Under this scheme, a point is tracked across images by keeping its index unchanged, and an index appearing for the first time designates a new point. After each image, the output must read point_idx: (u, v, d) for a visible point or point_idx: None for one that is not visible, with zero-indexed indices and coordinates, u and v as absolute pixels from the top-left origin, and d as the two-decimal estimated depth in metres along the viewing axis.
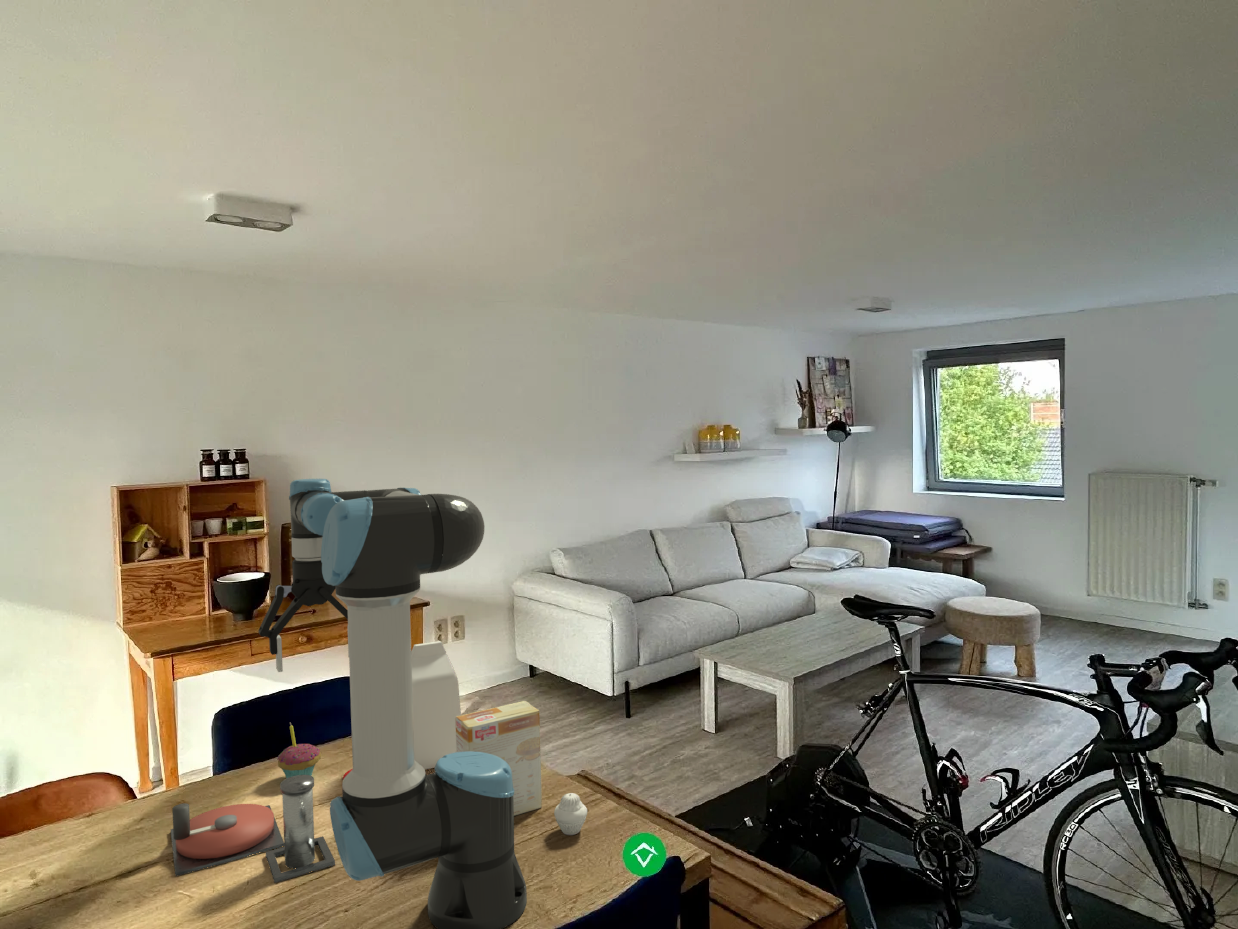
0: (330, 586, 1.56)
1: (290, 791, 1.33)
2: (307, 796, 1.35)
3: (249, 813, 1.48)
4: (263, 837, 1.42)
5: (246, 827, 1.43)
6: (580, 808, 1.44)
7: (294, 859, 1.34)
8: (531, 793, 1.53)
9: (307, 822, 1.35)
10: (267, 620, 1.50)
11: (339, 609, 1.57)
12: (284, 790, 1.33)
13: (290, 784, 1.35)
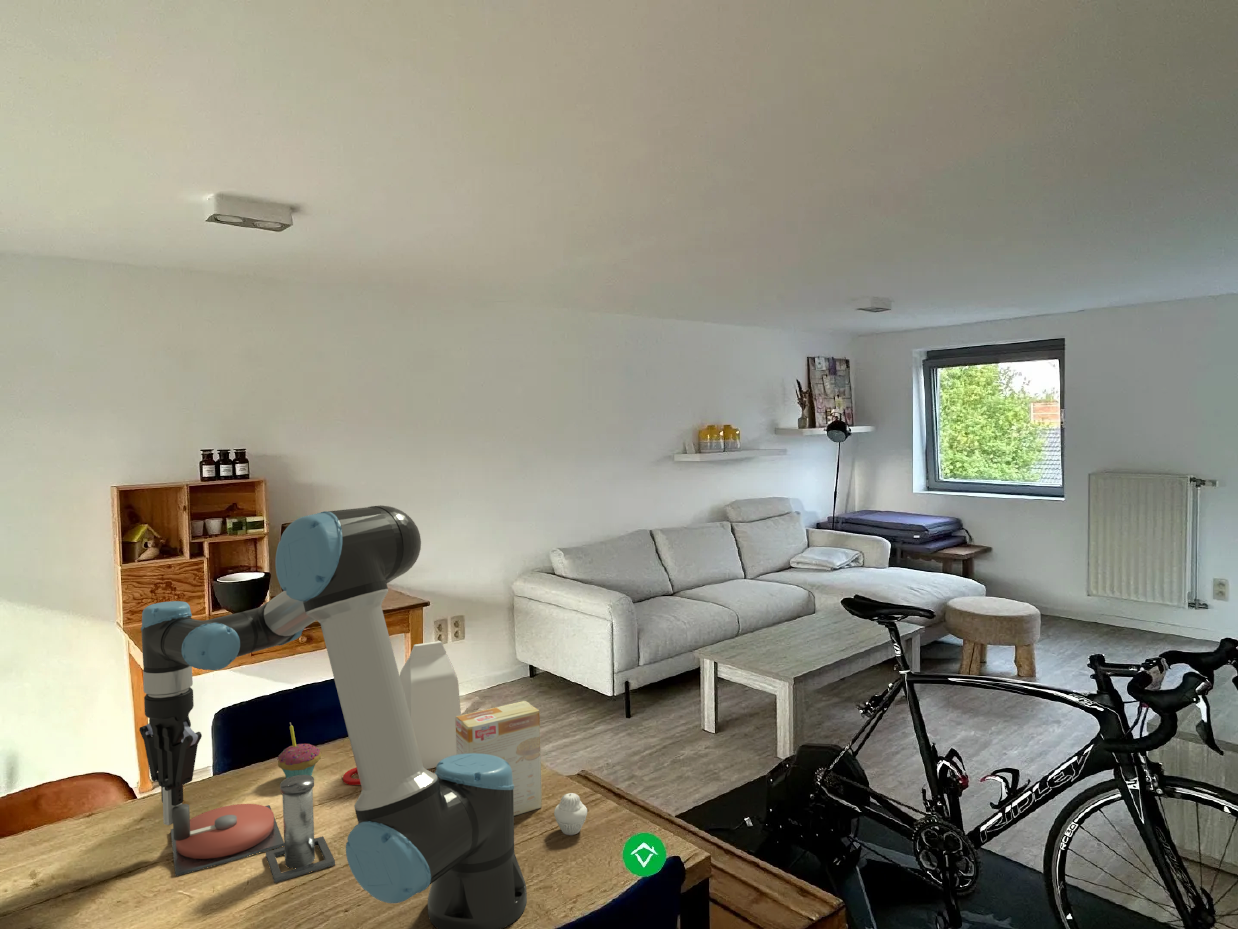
0: (175, 727, 1.37)
1: (290, 791, 1.33)
2: (307, 796, 1.35)
3: (249, 813, 1.48)
4: (264, 836, 1.42)
5: (247, 827, 1.43)
6: (580, 808, 1.44)
7: (294, 859, 1.34)
8: (531, 793, 1.53)
9: (307, 822, 1.35)
10: (149, 764, 1.40)
11: (168, 759, 1.38)
12: (284, 790, 1.33)
13: (290, 784, 1.35)
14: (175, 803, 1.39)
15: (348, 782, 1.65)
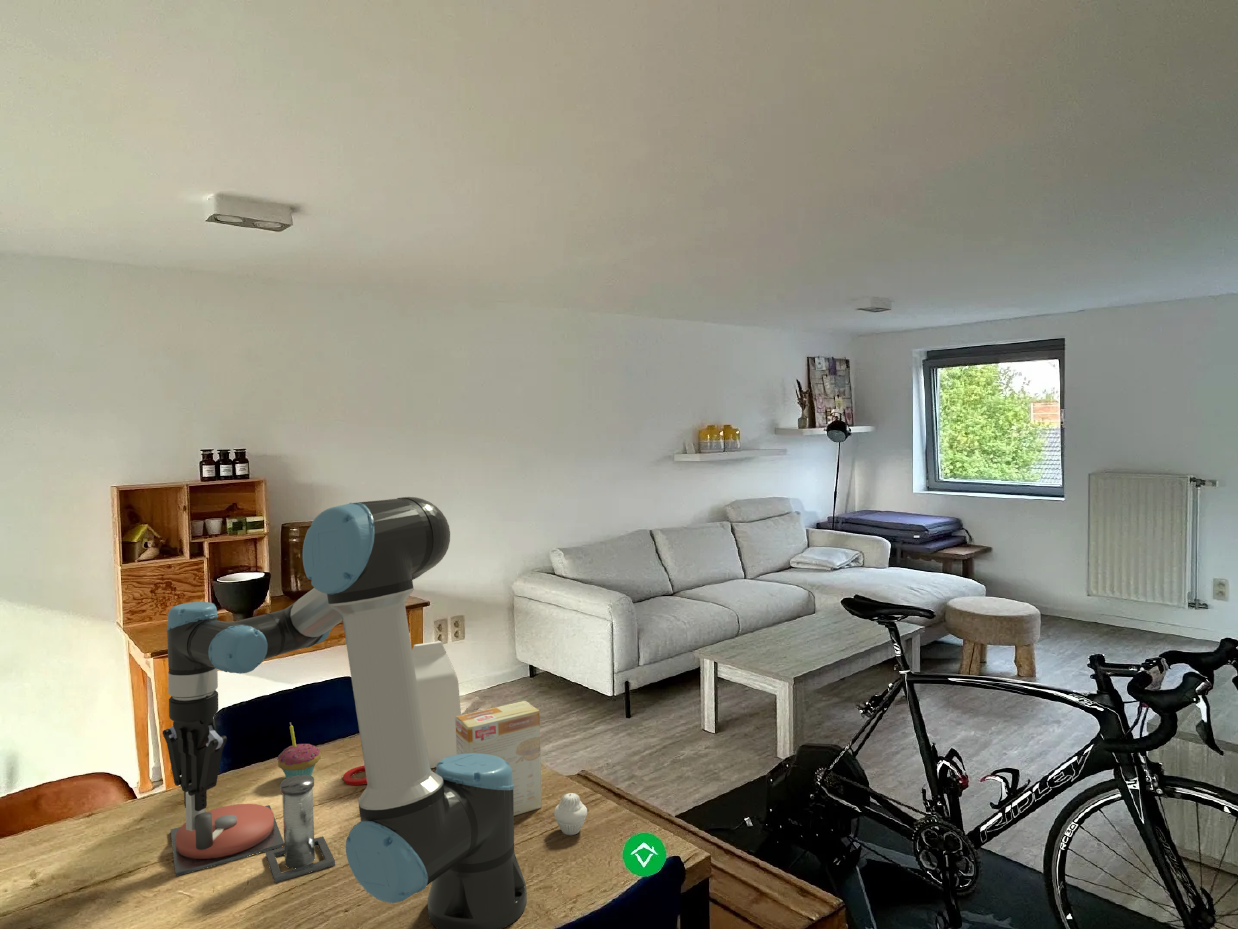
0: (200, 731, 1.35)
1: (290, 791, 1.33)
2: (307, 796, 1.35)
3: (226, 813, 1.48)
4: None
5: (250, 816, 1.47)
6: (580, 808, 1.44)
7: (294, 859, 1.34)
8: (531, 793, 1.53)
9: (307, 822, 1.35)
10: (172, 768, 1.37)
11: (192, 763, 1.35)
12: (284, 790, 1.33)
13: (290, 784, 1.35)
14: (198, 808, 1.36)
15: (348, 782, 1.65)
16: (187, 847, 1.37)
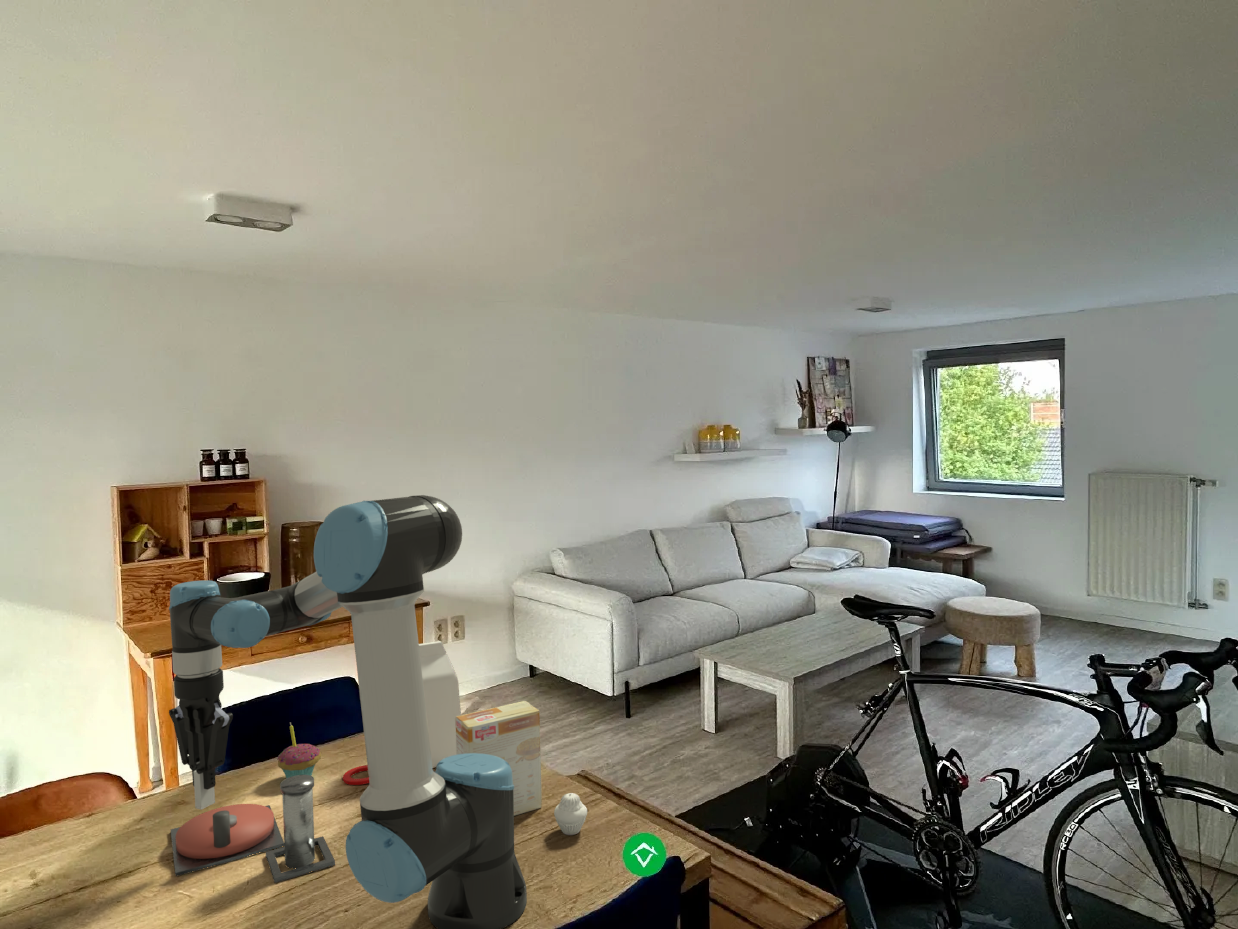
0: (206, 708, 1.34)
1: (290, 791, 1.33)
2: (307, 796, 1.35)
3: None
4: None
5: (245, 814, 1.48)
6: (580, 808, 1.44)
7: (294, 859, 1.34)
8: (531, 793, 1.53)
9: (307, 822, 1.35)
10: (179, 747, 1.37)
11: (199, 741, 1.35)
12: (284, 790, 1.33)
13: (290, 784, 1.35)
14: (207, 786, 1.36)
15: (348, 782, 1.65)
16: (204, 849, 1.36)
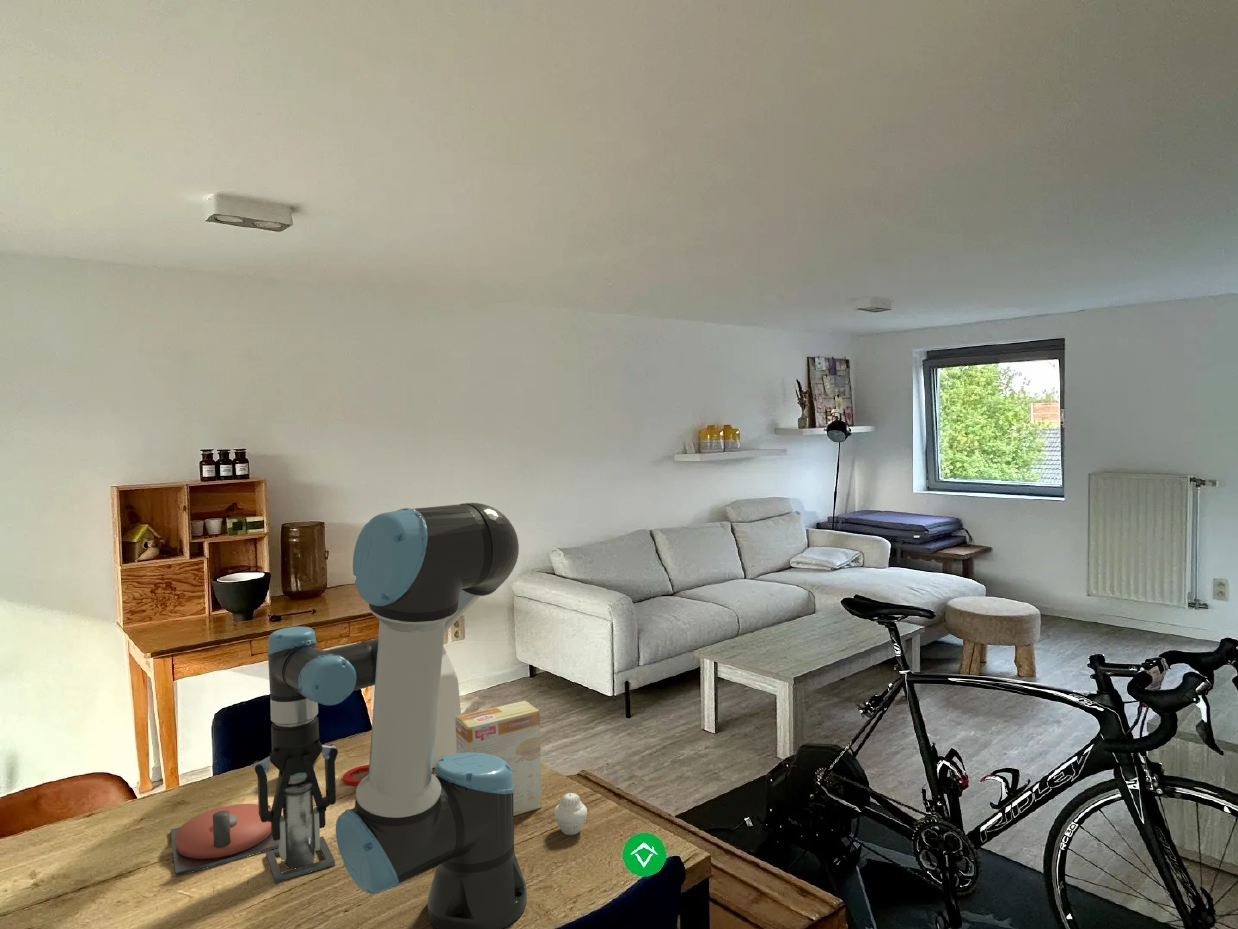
0: (315, 750, 1.36)
1: (290, 791, 1.33)
2: (307, 796, 1.35)
3: None
4: None
5: (245, 814, 1.48)
6: (580, 808, 1.44)
7: (294, 858, 1.34)
8: (531, 793, 1.53)
9: (307, 822, 1.35)
10: (261, 804, 1.32)
11: None
12: (284, 790, 1.33)
13: (290, 784, 1.35)
14: (324, 824, 1.38)
15: (348, 782, 1.65)
16: (204, 849, 1.36)
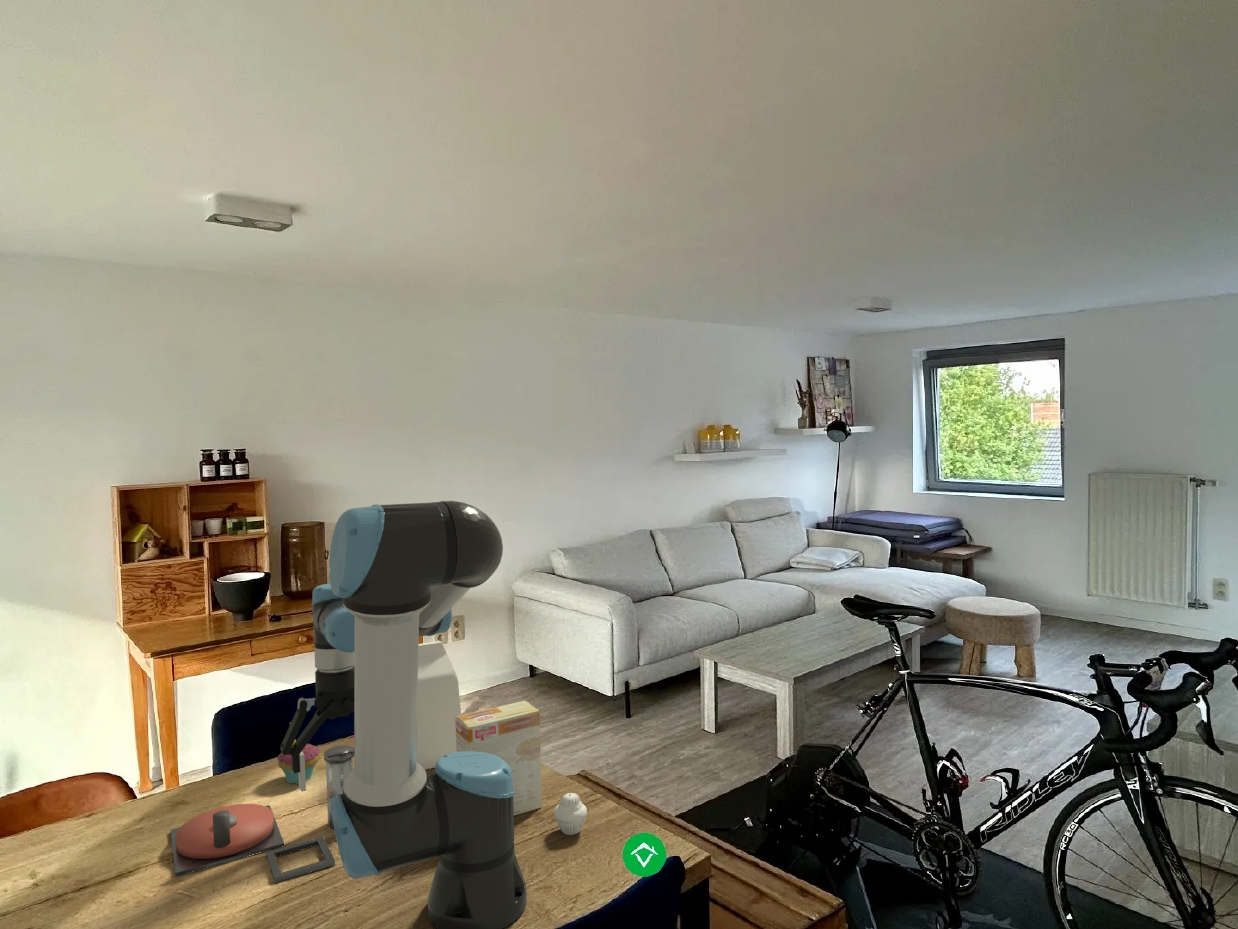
0: None
1: (333, 759, 1.46)
2: (348, 764, 1.47)
3: None
4: None
5: (245, 814, 1.48)
6: (580, 808, 1.44)
7: None
8: (531, 793, 1.53)
9: None
10: (289, 737, 1.42)
11: None
12: (328, 758, 1.46)
13: (333, 753, 1.47)
14: None
15: None
16: (204, 849, 1.36)
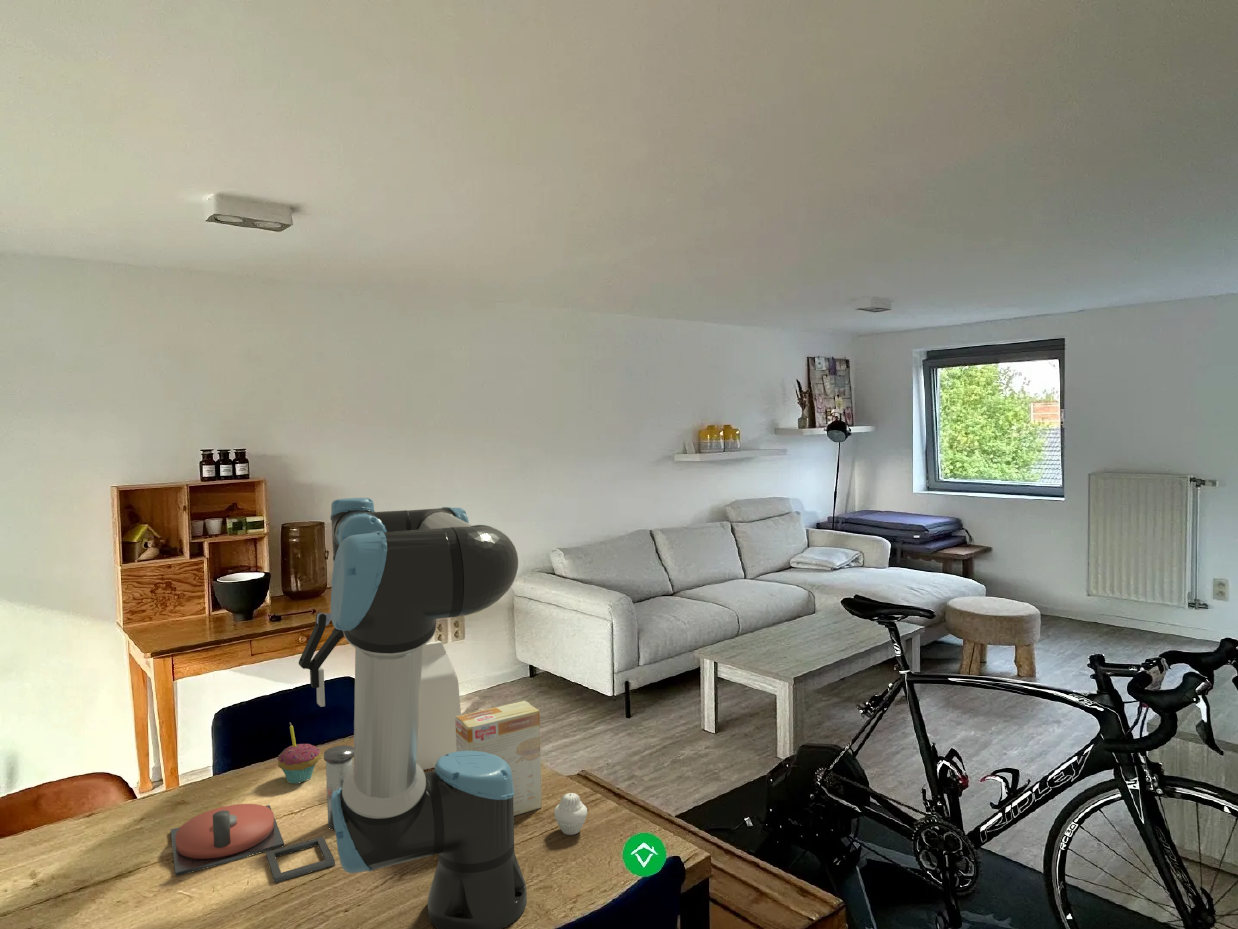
0: None
1: (333, 759, 1.46)
2: (348, 764, 1.47)
3: None
4: None
5: (245, 814, 1.48)
6: (580, 808, 1.44)
7: None
8: (531, 793, 1.53)
9: None
10: (309, 651, 1.39)
11: None
12: (328, 758, 1.46)
13: (333, 753, 1.47)
14: None
15: None
16: (204, 849, 1.36)
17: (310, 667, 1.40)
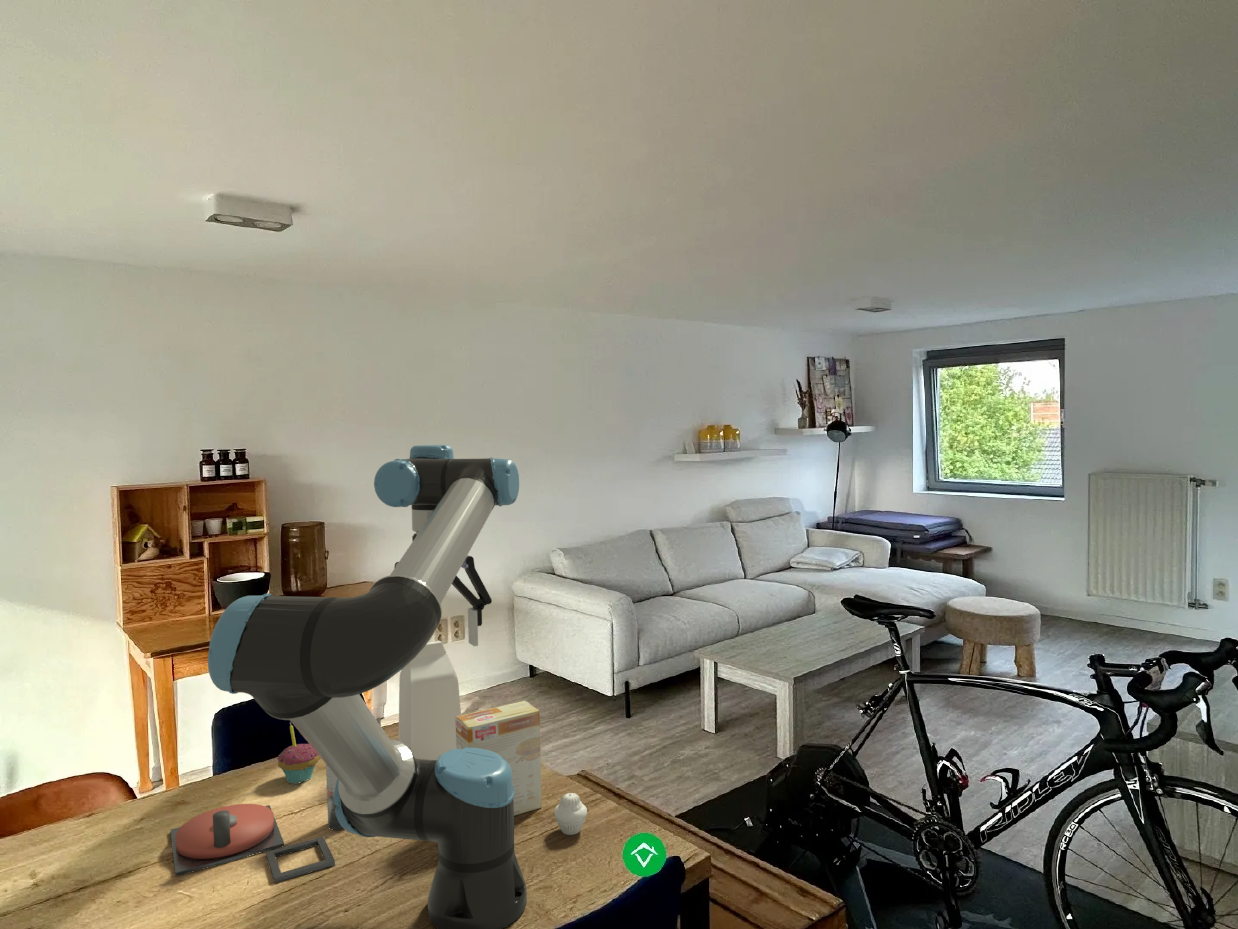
0: None
1: None
2: None
3: None
4: None
5: (245, 814, 1.48)
6: (580, 808, 1.44)
7: (336, 821, 1.47)
8: (531, 793, 1.53)
9: None
10: None
11: (462, 589, 1.42)
12: None
13: None
14: (481, 622, 1.44)
15: None
16: (204, 849, 1.36)
17: None
